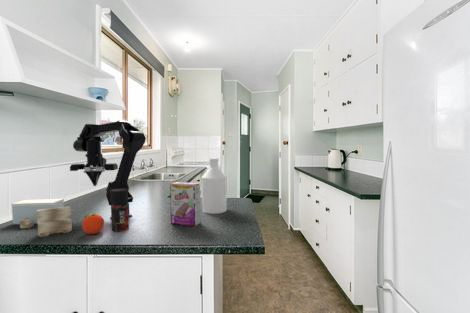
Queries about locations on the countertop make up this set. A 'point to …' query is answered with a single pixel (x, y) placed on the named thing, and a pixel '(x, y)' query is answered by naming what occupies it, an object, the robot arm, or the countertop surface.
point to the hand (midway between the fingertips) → (95, 185)
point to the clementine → (92, 223)
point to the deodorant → (119, 210)
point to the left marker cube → (27, 223)
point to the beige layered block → (54, 220)
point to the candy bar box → (185, 203)
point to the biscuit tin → (33, 208)
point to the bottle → (214, 189)
